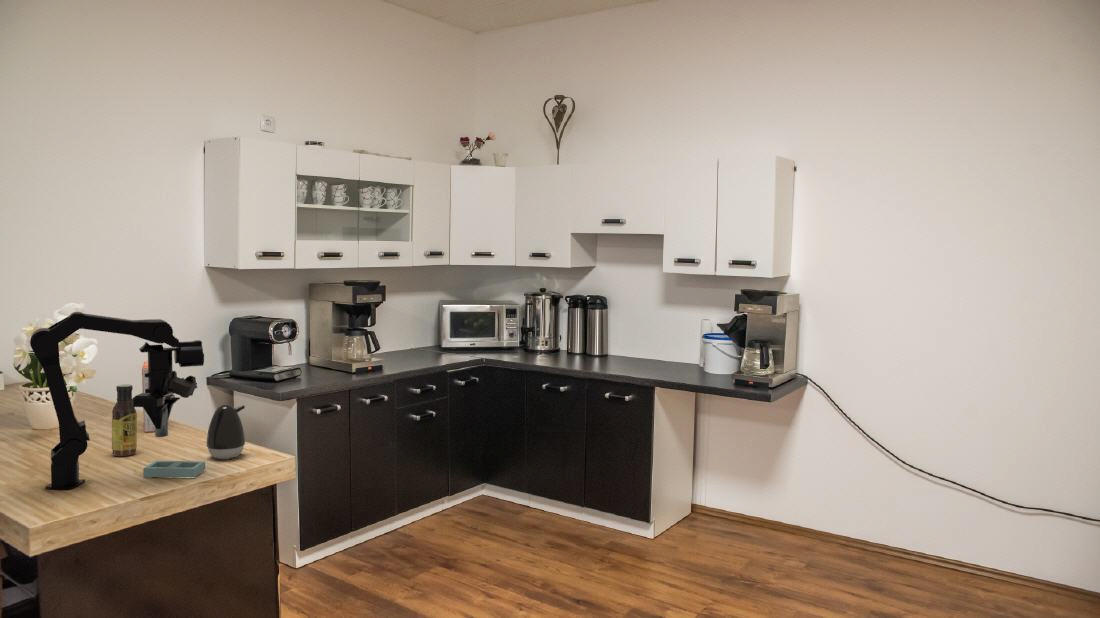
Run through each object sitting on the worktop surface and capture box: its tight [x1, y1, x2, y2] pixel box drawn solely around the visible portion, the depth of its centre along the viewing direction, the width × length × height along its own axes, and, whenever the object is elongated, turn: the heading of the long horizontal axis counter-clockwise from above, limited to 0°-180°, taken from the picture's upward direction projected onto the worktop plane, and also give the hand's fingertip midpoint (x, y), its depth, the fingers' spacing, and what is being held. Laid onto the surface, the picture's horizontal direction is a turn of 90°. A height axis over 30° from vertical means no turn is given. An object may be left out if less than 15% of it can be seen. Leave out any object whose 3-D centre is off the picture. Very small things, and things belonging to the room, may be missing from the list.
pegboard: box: [142, 460, 206, 479], centre depth 208 cm, size 7×13×2 cm, turn 92°
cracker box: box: [141, 360, 155, 433], centre depth 256 cm, size 14×6×21 cm, turn 25°
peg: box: [154, 405, 169, 438], centre depth 207 cm, size 3×3×8 cm
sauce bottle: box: [111, 383, 138, 457], centre depth 224 cm, size 7×6×20 cm
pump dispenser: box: [205, 403, 246, 460], centre depth 224 cm, size 10×10×15 cm
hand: (161, 427), depth 207 cm, fingers closed on peg, 3 cm apart
